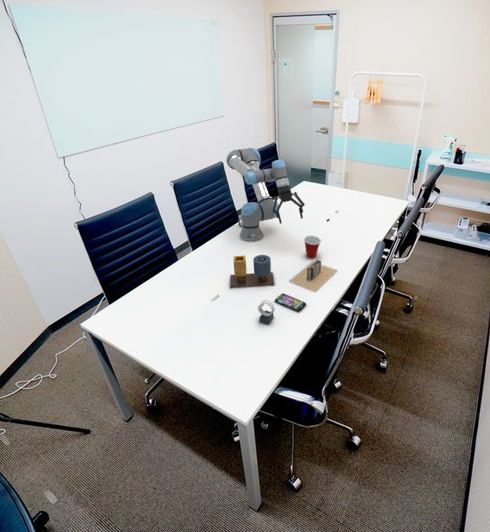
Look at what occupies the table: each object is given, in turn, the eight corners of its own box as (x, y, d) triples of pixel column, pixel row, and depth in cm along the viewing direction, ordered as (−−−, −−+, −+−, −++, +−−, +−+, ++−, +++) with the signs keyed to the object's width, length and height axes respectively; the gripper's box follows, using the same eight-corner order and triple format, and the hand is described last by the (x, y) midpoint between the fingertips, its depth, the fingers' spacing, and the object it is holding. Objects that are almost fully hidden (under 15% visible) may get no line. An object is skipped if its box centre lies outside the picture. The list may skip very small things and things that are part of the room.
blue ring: (250, 270, 185) (250, 258, 181) (263, 265, 190) (263, 253, 186) (260, 277, 179) (260, 265, 175) (274, 271, 184) (273, 259, 180)
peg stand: (230, 288, 181) (228, 266, 174) (230, 276, 190) (228, 255, 183) (274, 285, 184) (273, 263, 176) (272, 274, 193) (272, 253, 186)
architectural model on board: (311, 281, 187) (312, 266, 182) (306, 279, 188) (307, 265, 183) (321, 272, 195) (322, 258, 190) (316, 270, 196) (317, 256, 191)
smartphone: (298, 311, 163) (273, 300, 171) (298, 312, 164) (273, 301, 171) (306, 302, 169) (282, 292, 176) (306, 304, 169) (282, 294, 177)
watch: (261, 313, 163) (261, 296, 157) (276, 318, 160) (276, 300, 154) (256, 320, 159) (255, 302, 153) (271, 325, 156) (270, 307, 150)
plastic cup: (319, 261, 206) (320, 244, 199) (301, 259, 207) (302, 242, 201) (321, 252, 215) (322, 236, 208) (304, 251, 216) (305, 234, 210)
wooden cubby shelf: (234, 269, 186) (233, 256, 181) (246, 269, 186) (245, 255, 181) (234, 276, 180) (233, 262, 175) (246, 275, 181) (245, 261, 176)
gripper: (264, 189, 196) (272, 225, 198) (304, 181, 199) (312, 215, 202) (262, 191, 203) (271, 225, 205) (301, 183, 207) (309, 216, 209)
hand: (291, 220), depth 204 cm, fingers open, 13 cm apart
